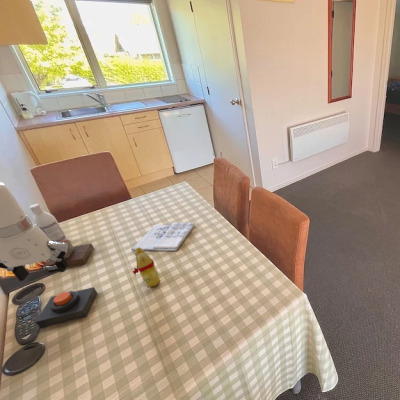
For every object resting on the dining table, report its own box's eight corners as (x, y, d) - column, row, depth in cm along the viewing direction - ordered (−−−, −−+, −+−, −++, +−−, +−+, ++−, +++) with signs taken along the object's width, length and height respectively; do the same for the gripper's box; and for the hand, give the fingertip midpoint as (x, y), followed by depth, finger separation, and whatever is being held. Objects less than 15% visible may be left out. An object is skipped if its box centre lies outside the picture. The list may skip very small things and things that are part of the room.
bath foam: (49, 242, 118) (24, 204, 108) (69, 237, 121) (46, 199, 111) (47, 251, 113) (20, 212, 103) (68, 245, 116) (44, 206, 106)
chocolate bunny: (155, 267, 104) (142, 237, 97) (163, 283, 97) (149, 252, 90) (135, 276, 100) (120, 245, 93) (142, 293, 93) (126, 261, 86)
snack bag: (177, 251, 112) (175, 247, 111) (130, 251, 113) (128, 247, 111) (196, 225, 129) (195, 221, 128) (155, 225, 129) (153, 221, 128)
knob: (68, 257, 105) (62, 247, 102) (62, 258, 104) (56, 248, 102) (74, 249, 110) (68, 239, 107) (69, 250, 109) (62, 240, 106)
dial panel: (48, 271, 103) (44, 265, 101) (60, 255, 111) (56, 249, 109) (85, 264, 106) (81, 258, 105) (94, 248, 114) (91, 242, 113)
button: (53, 307, 83) (50, 303, 82) (59, 297, 86) (56, 293, 86) (69, 303, 84) (66, 299, 83) (74, 294, 88) (71, 290, 87)
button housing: (40, 328, 82) (31, 318, 79) (56, 303, 90) (48, 292, 88) (86, 317, 85) (79, 306, 83) (97, 293, 93) (91, 283, 91)
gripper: (-43, 242, 66) (0, 290, 74) (43, 228, 71) (74, 274, 79) (-22, 226, 72) (16, 271, 80) (57, 213, 77) (84, 258, 85)
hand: (45, 273), depth 80 cm, fingers open, 9 cm apart
